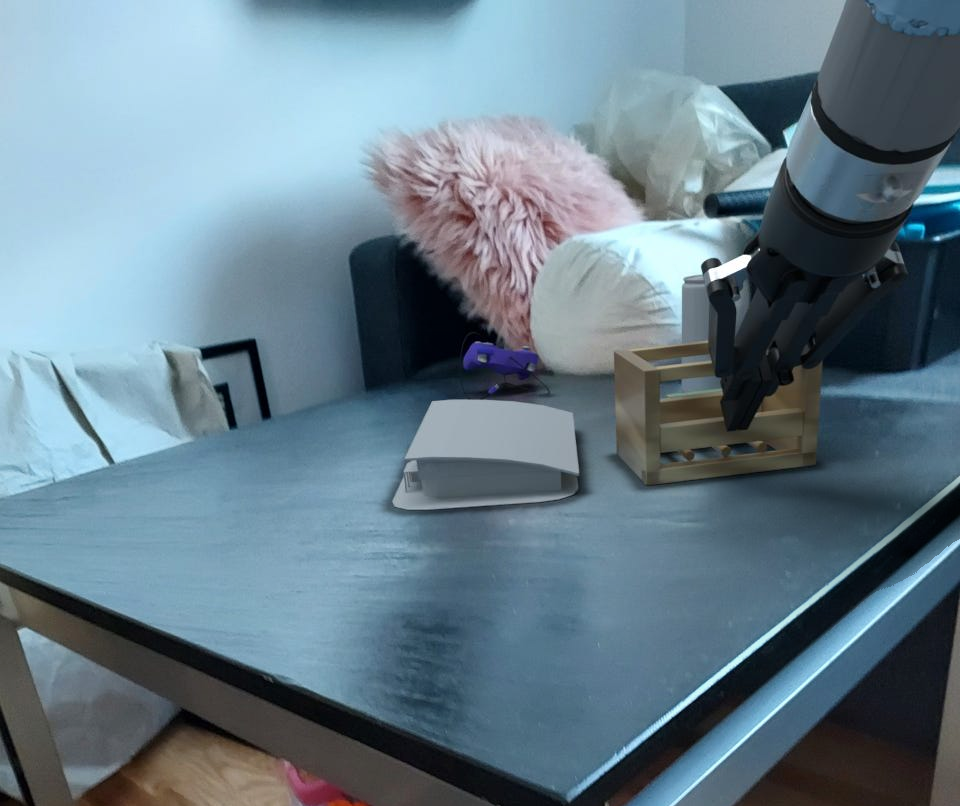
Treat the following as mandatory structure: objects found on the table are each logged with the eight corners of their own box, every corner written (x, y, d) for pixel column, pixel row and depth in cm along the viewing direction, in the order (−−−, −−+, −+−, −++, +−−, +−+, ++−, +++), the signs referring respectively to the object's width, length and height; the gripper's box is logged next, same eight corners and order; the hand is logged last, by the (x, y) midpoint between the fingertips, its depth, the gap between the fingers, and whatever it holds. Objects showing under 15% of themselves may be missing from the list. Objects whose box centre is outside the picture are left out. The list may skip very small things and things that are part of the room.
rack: (769, 435, 86) (773, 332, 82) (816, 465, 77) (823, 350, 73) (616, 454, 85) (613, 350, 81) (646, 485, 76) (644, 371, 72)
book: (387, 512, 76) (380, 464, 74) (421, 438, 96) (416, 399, 95) (580, 499, 74) (578, 450, 73) (573, 427, 95) (571, 387, 93)
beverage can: (712, 387, 105) (714, 272, 100) (736, 395, 101) (739, 275, 96) (673, 394, 104) (673, 277, 99) (695, 402, 100) (697, 280, 94)
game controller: (527, 346, 118) (558, 338, 109) (518, 413, 119) (547, 411, 110) (451, 331, 115) (476, 322, 105) (442, 400, 116) (466, 397, 107)
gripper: (748, 241, 50) (659, 466, 73) (987, 220, 51) (827, 449, 73) (719, 133, 53) (642, 383, 75) (947, 115, 54) (804, 367, 76)
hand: (733, 415), depth 74 cm, fingers closed
